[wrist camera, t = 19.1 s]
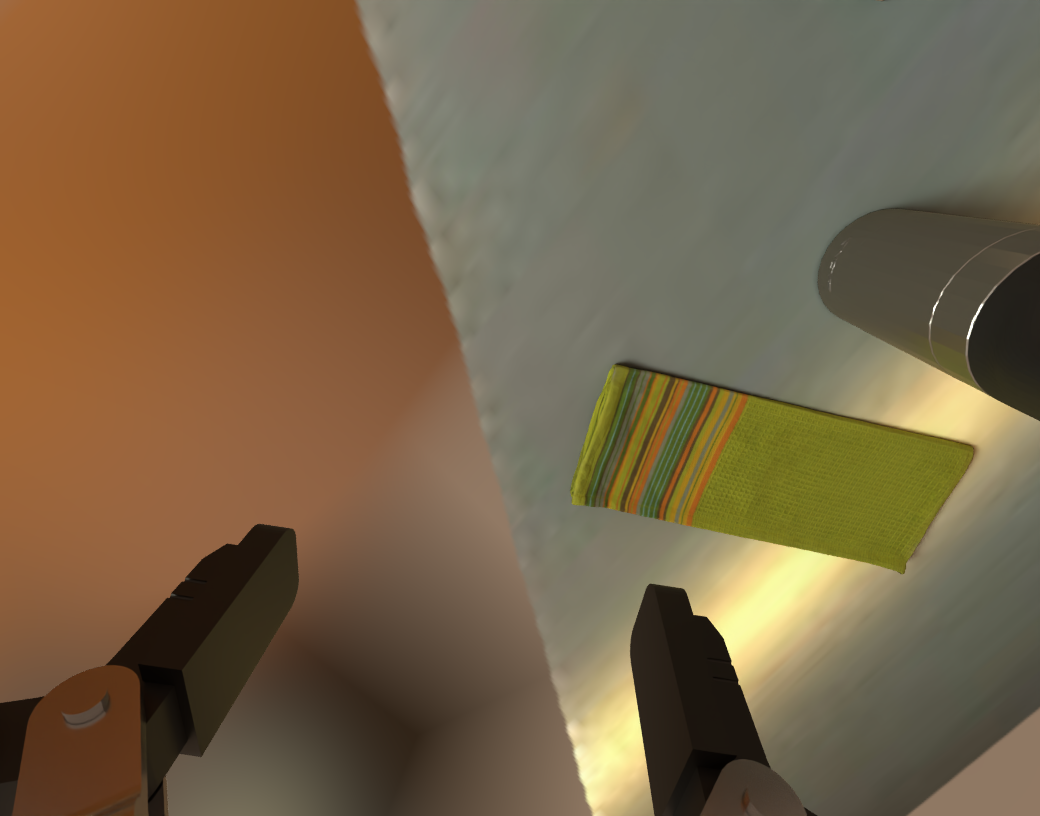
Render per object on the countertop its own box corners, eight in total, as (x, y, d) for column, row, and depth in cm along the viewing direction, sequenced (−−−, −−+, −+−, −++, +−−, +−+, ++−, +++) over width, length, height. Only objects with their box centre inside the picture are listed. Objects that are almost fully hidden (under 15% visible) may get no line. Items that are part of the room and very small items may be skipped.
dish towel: (607, 357, 47) (610, 370, 45) (969, 439, 49) (995, 456, 46) (566, 491, 54) (567, 509, 51) (886, 560, 55) (904, 582, 52)
